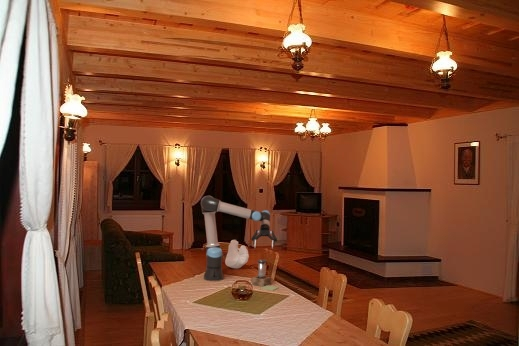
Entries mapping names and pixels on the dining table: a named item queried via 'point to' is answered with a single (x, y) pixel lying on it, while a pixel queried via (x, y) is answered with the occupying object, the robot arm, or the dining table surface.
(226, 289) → the dining table surface
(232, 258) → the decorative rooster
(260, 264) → the silver metallic cylinder
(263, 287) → the mat
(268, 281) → the collar
